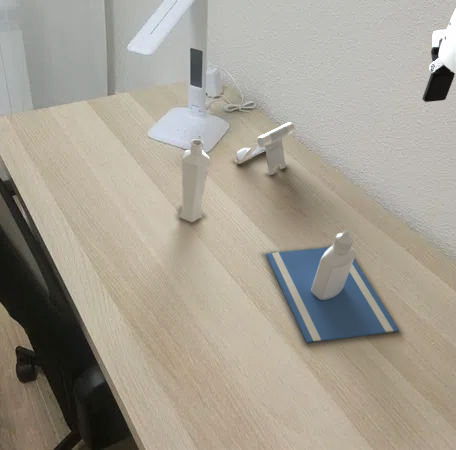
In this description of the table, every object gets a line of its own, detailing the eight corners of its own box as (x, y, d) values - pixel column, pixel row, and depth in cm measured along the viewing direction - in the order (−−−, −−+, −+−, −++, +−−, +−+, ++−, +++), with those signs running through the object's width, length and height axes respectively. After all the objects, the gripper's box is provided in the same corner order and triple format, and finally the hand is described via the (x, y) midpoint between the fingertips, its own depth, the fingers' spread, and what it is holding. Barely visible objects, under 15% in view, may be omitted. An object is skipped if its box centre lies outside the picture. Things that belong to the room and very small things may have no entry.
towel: (345, 247, 93) (346, 245, 92) (398, 331, 79) (399, 329, 79) (265, 255, 91) (266, 253, 90) (306, 343, 77) (307, 341, 77)
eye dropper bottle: (349, 299, 83) (372, 240, 75) (314, 301, 83) (333, 242, 75) (339, 278, 86) (360, 220, 79) (305, 280, 86) (322, 221, 78)
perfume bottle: (207, 211, 99) (216, 140, 89) (196, 225, 96) (204, 152, 86) (185, 203, 100) (191, 131, 91) (173, 216, 97) (178, 143, 88)
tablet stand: (262, 146, 115) (269, 111, 110) (292, 163, 111) (300, 127, 106) (234, 161, 111) (239, 124, 106) (263, 179, 107) (270, 142, 101)
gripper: (599, 6, 55) (524, 151, 66) (490, -43, 68) (442, 85, 79) (532, 11, 54) (467, 157, 65) (434, -40, 67) (394, 90, 78)
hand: (454, 118), depth 72 cm, fingers open, 9 cm apart
